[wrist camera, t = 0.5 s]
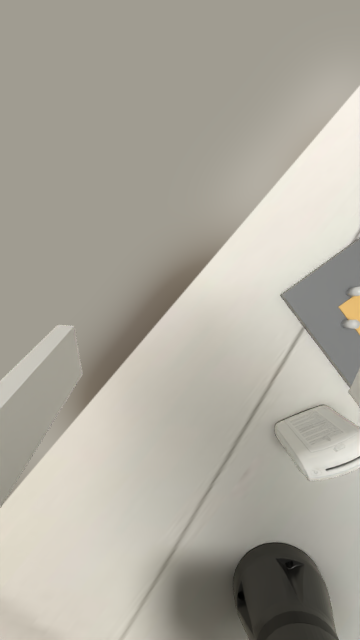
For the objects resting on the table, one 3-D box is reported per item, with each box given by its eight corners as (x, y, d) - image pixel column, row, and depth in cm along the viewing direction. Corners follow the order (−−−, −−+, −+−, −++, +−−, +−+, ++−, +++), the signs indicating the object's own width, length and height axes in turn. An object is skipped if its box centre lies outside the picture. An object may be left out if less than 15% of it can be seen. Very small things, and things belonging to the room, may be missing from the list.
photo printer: (279, 446, 43) (314, 496, 31) (269, 423, 43) (299, 464, 31) (336, 424, 43) (394, 465, 30) (326, 400, 43) (379, 432, 30)
